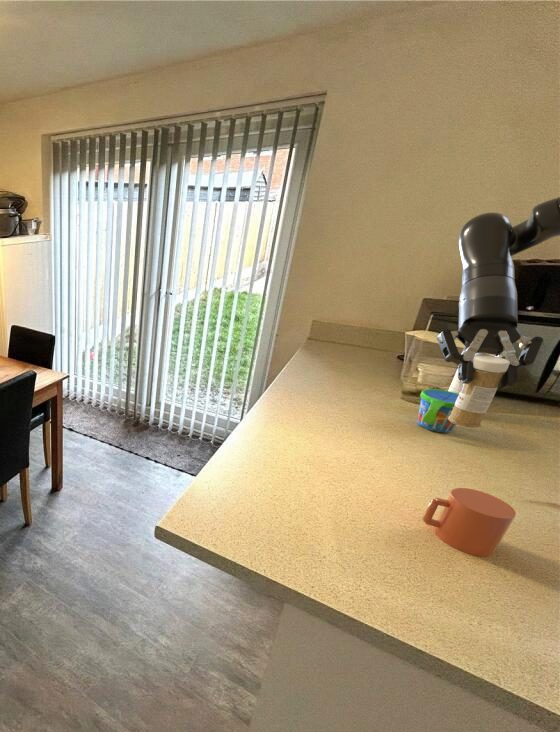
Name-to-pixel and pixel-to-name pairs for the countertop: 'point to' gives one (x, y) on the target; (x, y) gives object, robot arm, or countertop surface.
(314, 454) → the countertop surface
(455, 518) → the upturned cup
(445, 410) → the snack cup
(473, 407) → the brown spice jar
